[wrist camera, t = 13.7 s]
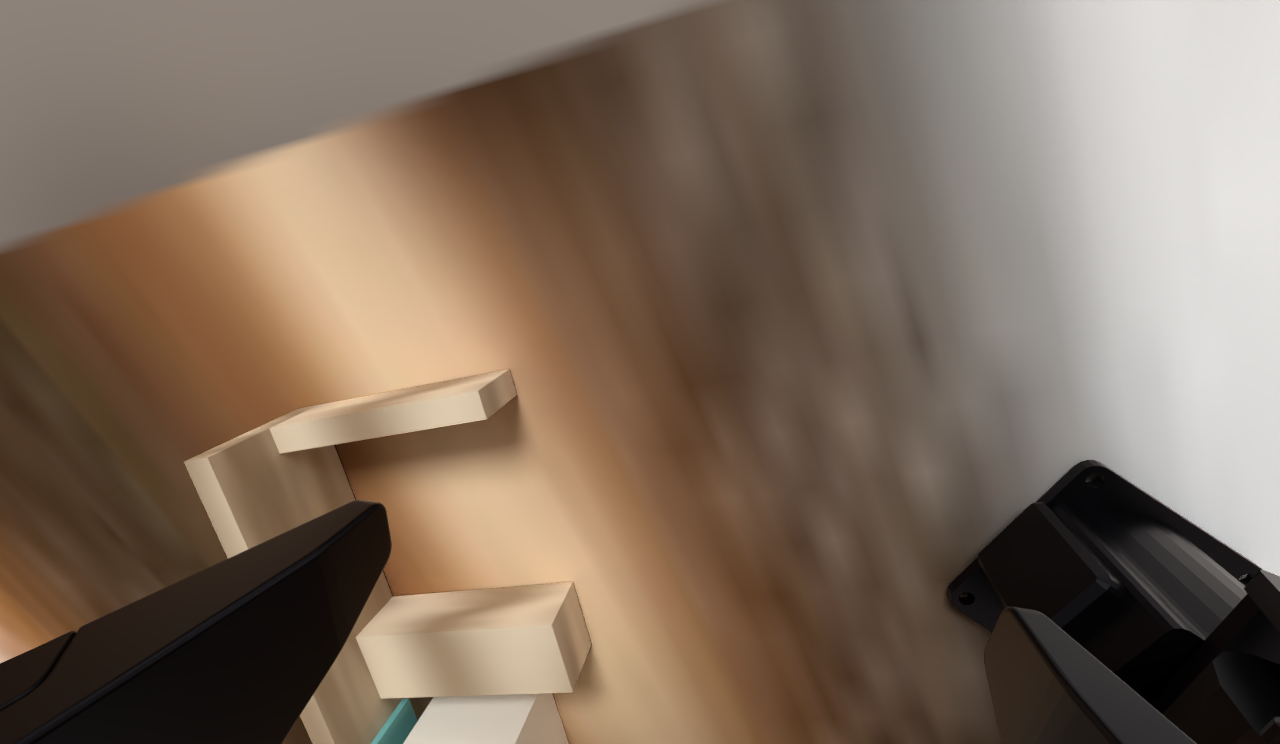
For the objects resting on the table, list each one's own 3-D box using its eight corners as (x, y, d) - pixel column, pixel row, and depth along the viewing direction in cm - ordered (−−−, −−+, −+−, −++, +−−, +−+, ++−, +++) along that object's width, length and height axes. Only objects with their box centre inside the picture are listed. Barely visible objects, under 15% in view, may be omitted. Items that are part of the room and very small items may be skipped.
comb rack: (509, 369, 21) (437, 418, 17) (641, 811, 26) (614, 944, 22) (298, 408, 24) (183, 461, 19) (456, 806, 29) (396, 926, 24)
